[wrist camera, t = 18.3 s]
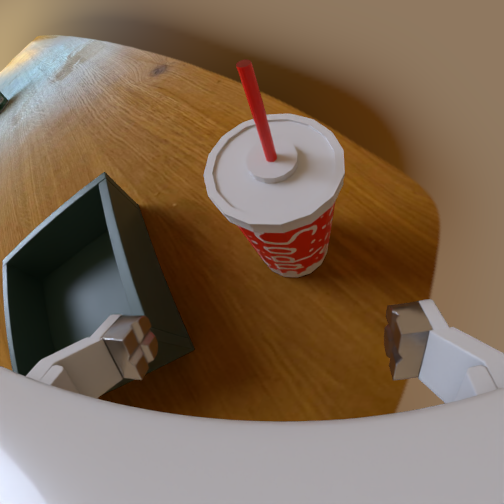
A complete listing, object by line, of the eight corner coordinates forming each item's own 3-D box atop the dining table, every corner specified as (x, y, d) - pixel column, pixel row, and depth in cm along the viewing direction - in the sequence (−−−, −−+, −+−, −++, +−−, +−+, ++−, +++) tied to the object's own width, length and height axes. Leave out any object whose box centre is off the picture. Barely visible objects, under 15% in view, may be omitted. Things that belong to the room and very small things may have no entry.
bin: (195, 349, 19) (154, 340, 14) (68, 409, 19) (21, 408, 14) (138, 204, 25) (104, 171, 20) (39, 278, 25) (2, 260, 20)
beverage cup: (237, 276, 21) (117, 131, 8) (264, 199, 22) (200, 29, 10) (326, 299, 19) (328, 143, 6) (346, 215, 20) (353, 26, 8)
